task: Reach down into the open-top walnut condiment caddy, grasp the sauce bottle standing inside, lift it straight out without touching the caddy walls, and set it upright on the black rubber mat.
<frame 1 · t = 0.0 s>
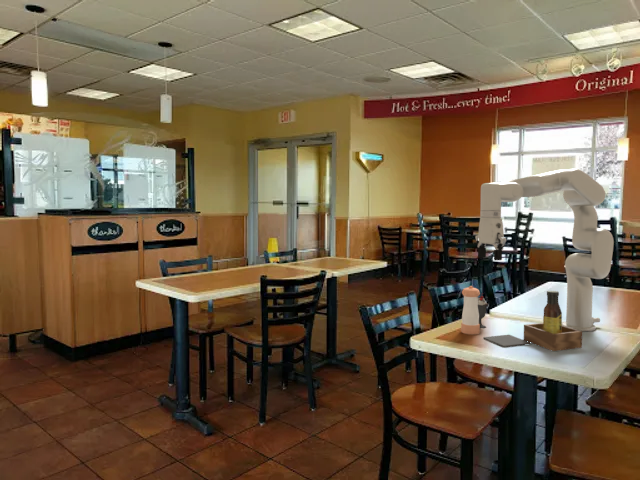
hand: (489, 258, 187), 31 cm above the table, tool pointing down, fingers open, 9 cm apart
mat: (506, 341, 184), on the table
caddy: (551, 343, 180), on the table
sauce bottle: (551, 344, 180), resting in caddy
sundae: (479, 327, 206), on the table
salt shaker: (470, 332, 197), on the table
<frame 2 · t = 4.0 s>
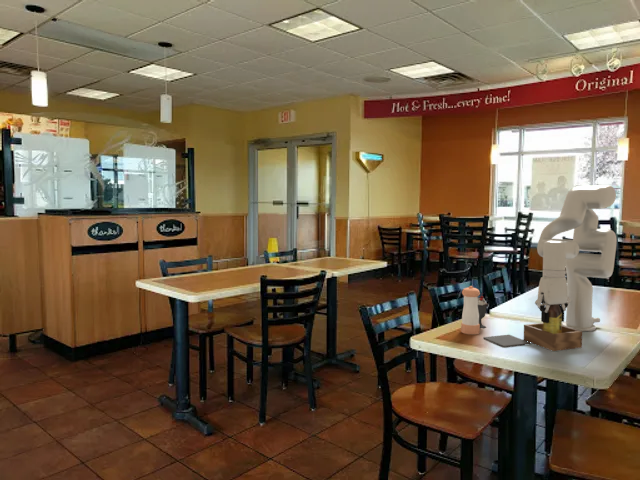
hand: (552, 321, 180), 9 cm above the table, tool pointing down, fingers closed on sauce bottle, 6 cm apart
sauce bottle: (551, 344, 180), resting in caddy, touching gripper
everything else where it was.
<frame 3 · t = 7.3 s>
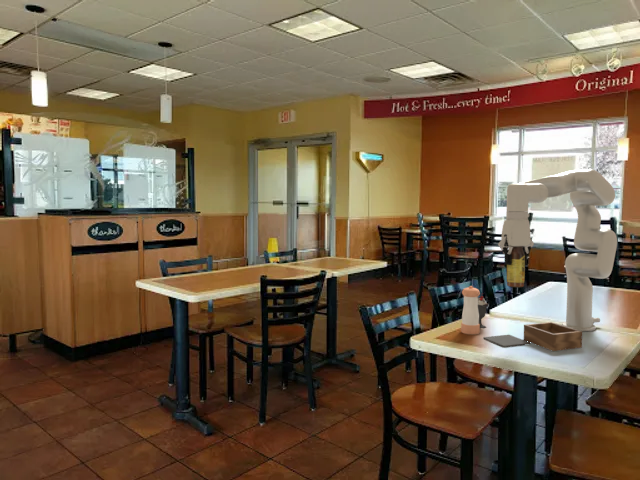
hand: (515, 263, 181), 30 cm above the table, tool pointing down, fingers closed on sauce bottle, 6 cm apart
sauce bottle: (515, 287, 181), point 21 cm above the table, touching gripper
everything else where it was.
when the fingers open (10 cm above the table, at t = 10.5 s): sauce bottle stays where it is, resting on mat.
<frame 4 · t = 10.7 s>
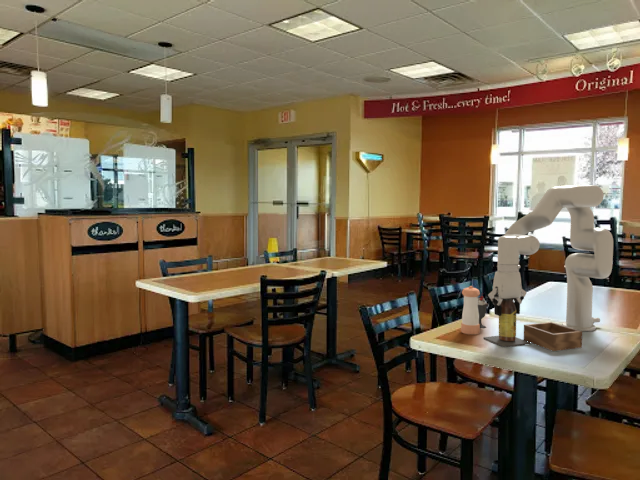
hand: (507, 314, 183), 11 cm above the table, tool pointing down, fingers open, 7 cm apart
sauce bottle: (507, 340, 184), resting on mat
everything else where it was.
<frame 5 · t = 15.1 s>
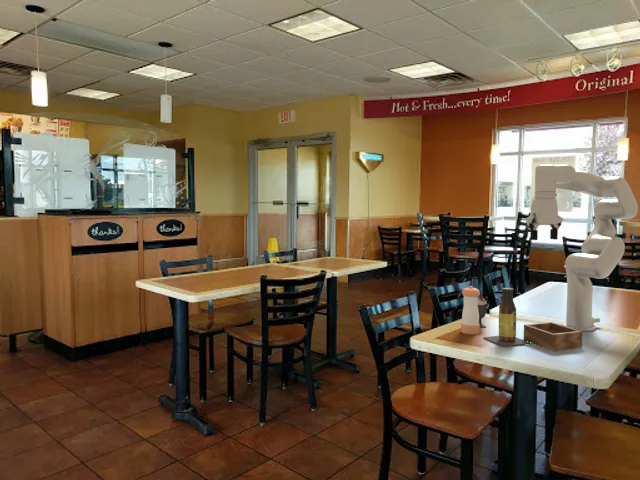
hand: (543, 239, 191), 38 cm above the table, tool pointing down, fingers open, 9 cm apart
nothing on the table moved.
at the end: sauce bottle inside the target area on the mat (0.2 cm from its centre), point 0.4 cm above the mat's base; sauce bottle tilted 0°; the gripper is holding nothing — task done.
